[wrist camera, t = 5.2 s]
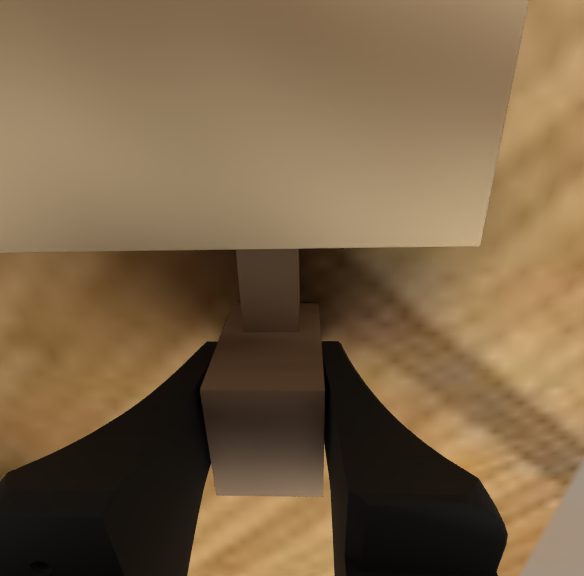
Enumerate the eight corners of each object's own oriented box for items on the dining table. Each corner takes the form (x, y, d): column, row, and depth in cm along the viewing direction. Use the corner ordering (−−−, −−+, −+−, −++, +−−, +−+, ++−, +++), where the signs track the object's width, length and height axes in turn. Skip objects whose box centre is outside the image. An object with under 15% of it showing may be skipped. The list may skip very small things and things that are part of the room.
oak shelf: (409, 188, 12) (479, 246, 7) (46, 195, 13) (-119, 254, 8) (444, -135, 9) (614, -430, 4) (-47, -108, 9) (-434, -341, 4)
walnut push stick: (340, 389, 16) (353, 497, 11) (219, 389, 16) (186, 494, 11) (359, -126, 9) (410, -346, 5) (153, -115, 9) (17, -317, 5)
